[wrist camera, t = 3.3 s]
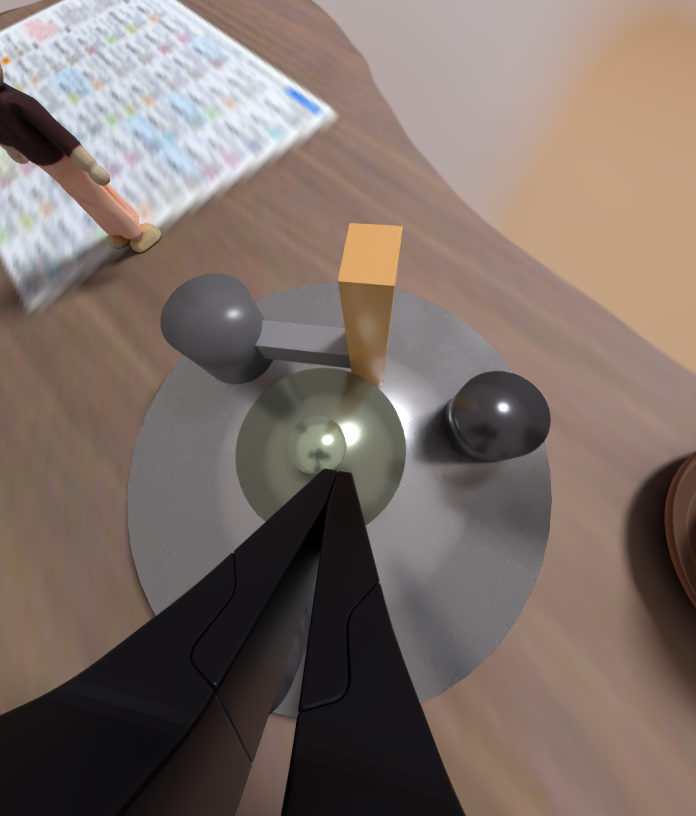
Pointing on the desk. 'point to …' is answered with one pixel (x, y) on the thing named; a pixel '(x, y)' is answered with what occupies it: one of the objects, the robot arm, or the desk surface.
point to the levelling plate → (412, 540)
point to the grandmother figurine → (68, 167)
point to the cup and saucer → (683, 525)
